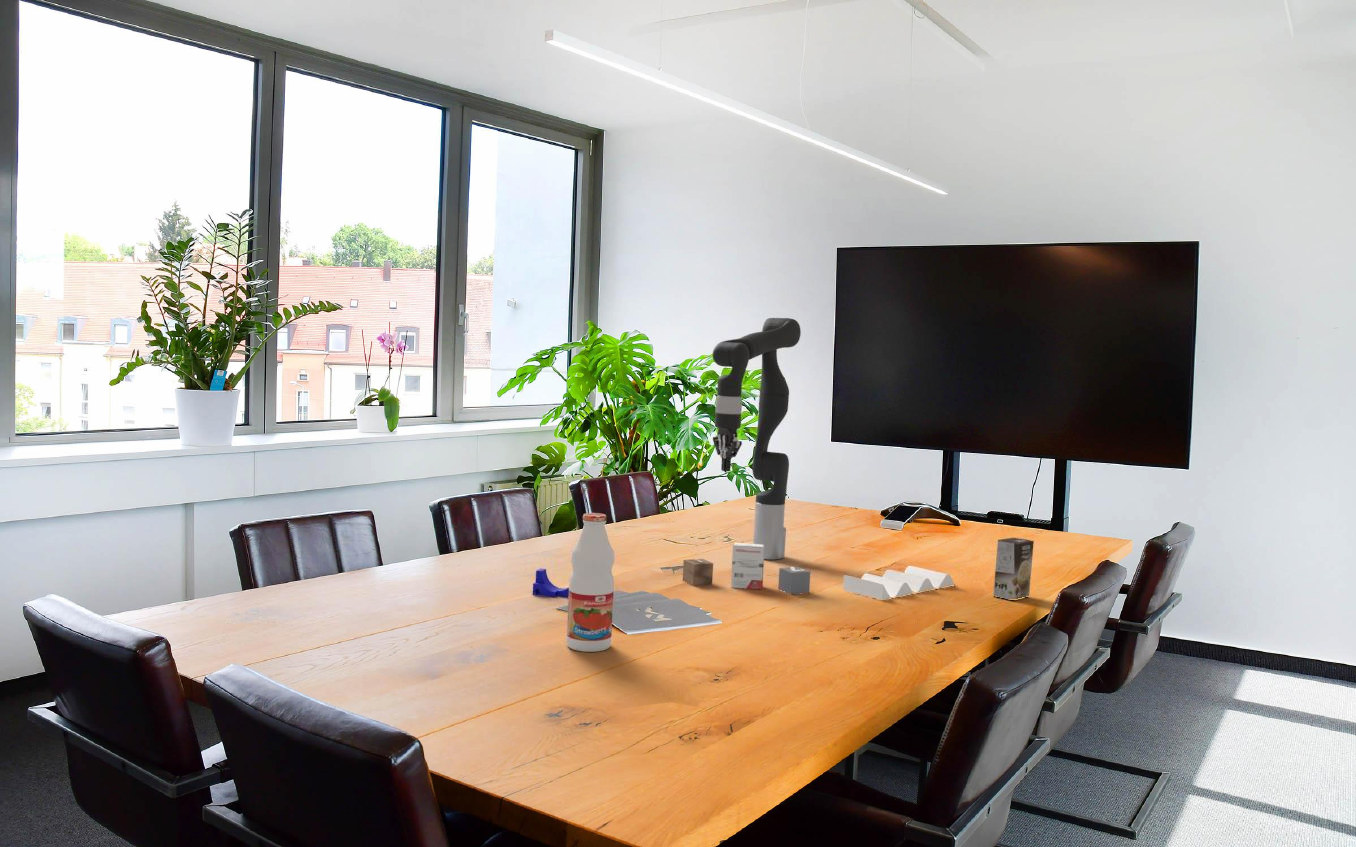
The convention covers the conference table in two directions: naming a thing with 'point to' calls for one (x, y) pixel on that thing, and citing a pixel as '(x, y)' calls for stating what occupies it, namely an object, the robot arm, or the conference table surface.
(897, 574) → the white taco holder
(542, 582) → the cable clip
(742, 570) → the ink box
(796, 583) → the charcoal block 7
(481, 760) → the conference table surface
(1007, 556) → the coffee box
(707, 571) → the walnut block
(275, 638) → the conference table surface
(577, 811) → the conference table surface
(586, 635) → the fruit juice
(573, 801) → the conference table surface
